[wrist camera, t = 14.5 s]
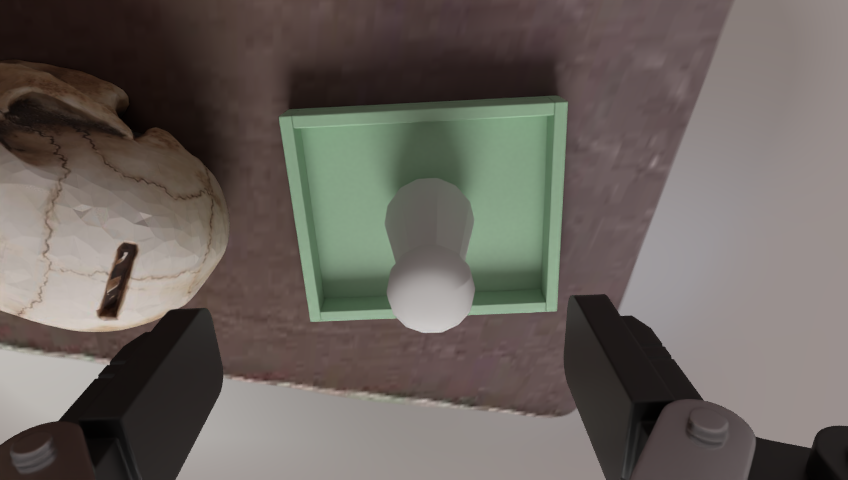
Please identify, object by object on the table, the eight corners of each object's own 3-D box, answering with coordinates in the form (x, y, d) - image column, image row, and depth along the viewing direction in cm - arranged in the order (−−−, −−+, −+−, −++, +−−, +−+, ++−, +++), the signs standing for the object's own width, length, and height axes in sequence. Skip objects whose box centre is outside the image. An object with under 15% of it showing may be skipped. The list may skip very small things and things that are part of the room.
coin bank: (-73, 69, 34) (-312, 109, 22) (203, 33, 35) (121, 52, 23) (33, 283, 41) (-106, 406, 28) (262, 248, 41) (223, 353, 29)
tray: (316, 303, 41) (310, 322, 38) (288, 109, 35) (278, 116, 33) (549, 293, 40) (557, 311, 38) (558, 95, 35) (568, 101, 32)
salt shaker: (461, 253, 38) (477, 363, 27) (382, 240, 38) (362, 346, 26) (478, 176, 36) (505, 257, 24) (394, 161, 36) (379, 236, 24)
